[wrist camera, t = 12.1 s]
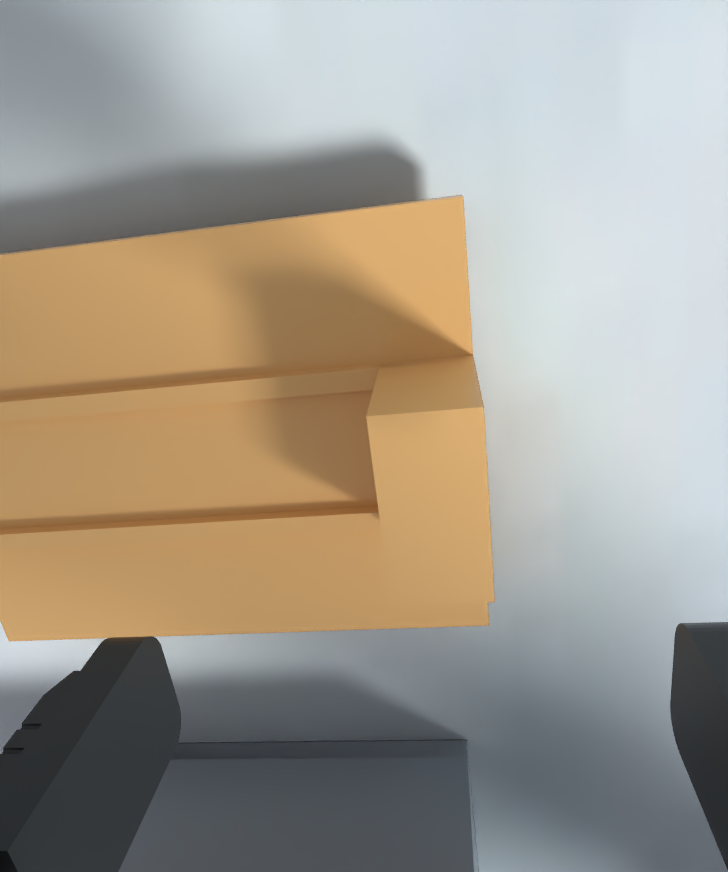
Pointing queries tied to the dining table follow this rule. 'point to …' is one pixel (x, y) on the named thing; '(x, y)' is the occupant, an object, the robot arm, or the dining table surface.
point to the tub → (310, 809)
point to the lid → (244, 430)
